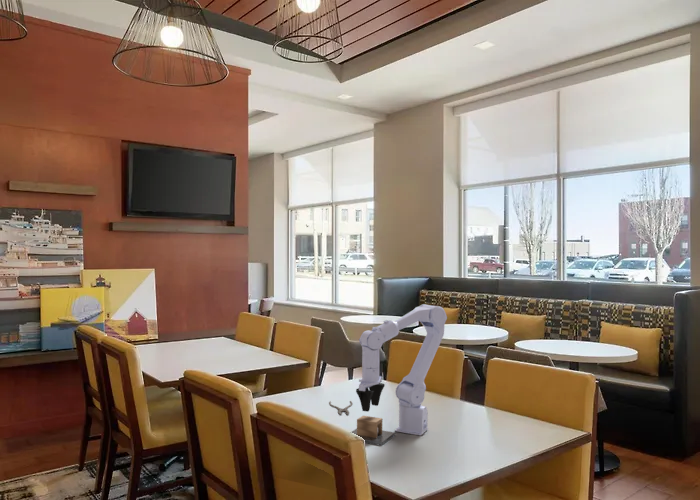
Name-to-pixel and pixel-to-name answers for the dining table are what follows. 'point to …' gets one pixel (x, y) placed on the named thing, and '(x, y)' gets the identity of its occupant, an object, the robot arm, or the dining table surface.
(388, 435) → the base plate
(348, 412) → the pliers
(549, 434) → the dining table surface
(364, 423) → the box
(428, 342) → the robot arm
